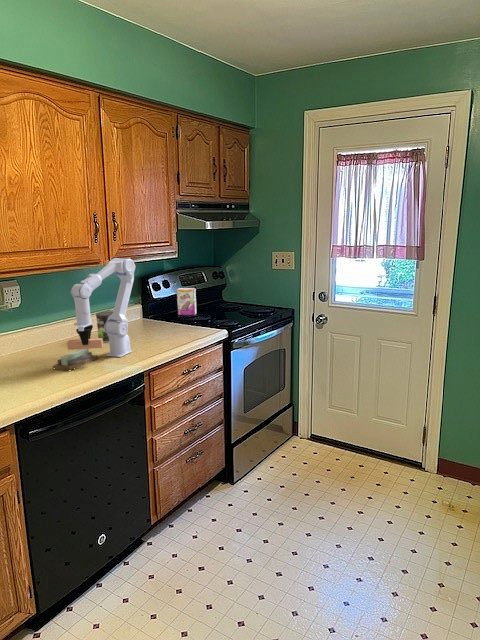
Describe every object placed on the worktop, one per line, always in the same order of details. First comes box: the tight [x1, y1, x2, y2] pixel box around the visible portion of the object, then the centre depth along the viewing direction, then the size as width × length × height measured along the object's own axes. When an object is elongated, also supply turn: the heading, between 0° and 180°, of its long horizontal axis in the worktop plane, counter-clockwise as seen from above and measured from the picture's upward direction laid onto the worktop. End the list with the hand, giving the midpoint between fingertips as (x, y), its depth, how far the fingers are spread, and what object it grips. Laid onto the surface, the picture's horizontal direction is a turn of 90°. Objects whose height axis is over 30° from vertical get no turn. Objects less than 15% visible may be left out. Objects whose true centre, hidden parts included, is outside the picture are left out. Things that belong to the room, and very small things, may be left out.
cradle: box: [52, 351, 99, 371], centre depth 210 cm, size 18×9×4 cm, turn 158°
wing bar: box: [66, 337, 104, 351], centre depth 206 cm, size 14×3×4 cm, turn 96°
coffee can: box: [95, 310, 114, 344], centre depth 246 cm, size 10×10×14 cm
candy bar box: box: [176, 287, 198, 316], centre depth 300 cm, size 11×5×16 cm, turn 82°
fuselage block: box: [60, 349, 90, 365], centre depth 210 cm, size 14×3×4 cm, turn 158°
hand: (86, 343), depth 206 cm, fingers closed on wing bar, 3 cm apart
